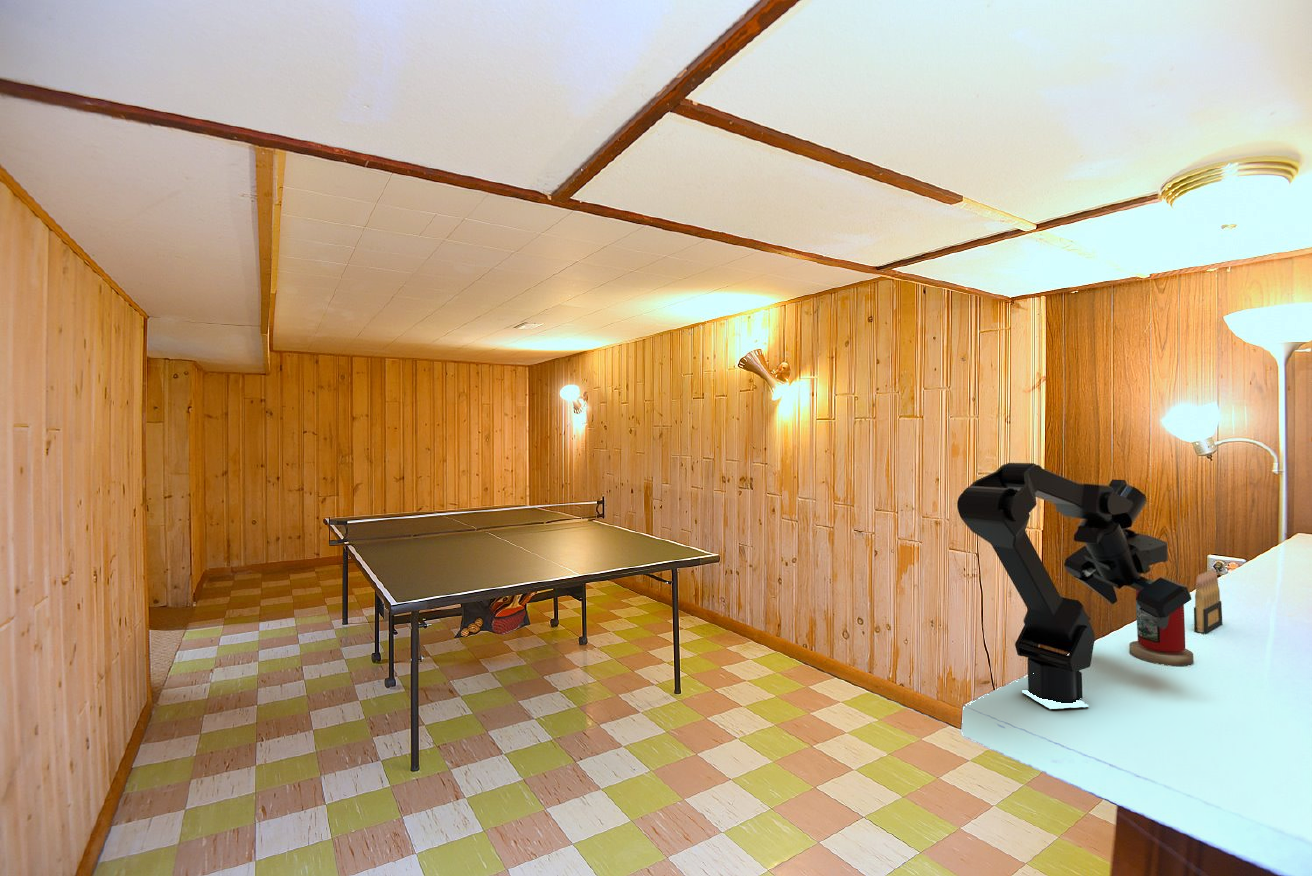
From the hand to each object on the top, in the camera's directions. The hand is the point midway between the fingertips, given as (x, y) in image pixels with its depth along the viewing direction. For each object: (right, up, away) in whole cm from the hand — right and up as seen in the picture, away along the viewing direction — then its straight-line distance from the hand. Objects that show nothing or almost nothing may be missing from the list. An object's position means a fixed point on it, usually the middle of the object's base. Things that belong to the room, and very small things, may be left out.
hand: (1138, 614), depth 104 cm
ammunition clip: (+31, -9, +20) cm, 39 cm away
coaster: (+8, -9, +5) cm, 14 cm away
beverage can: (+8, -8, +5) cm, 13 cm away
